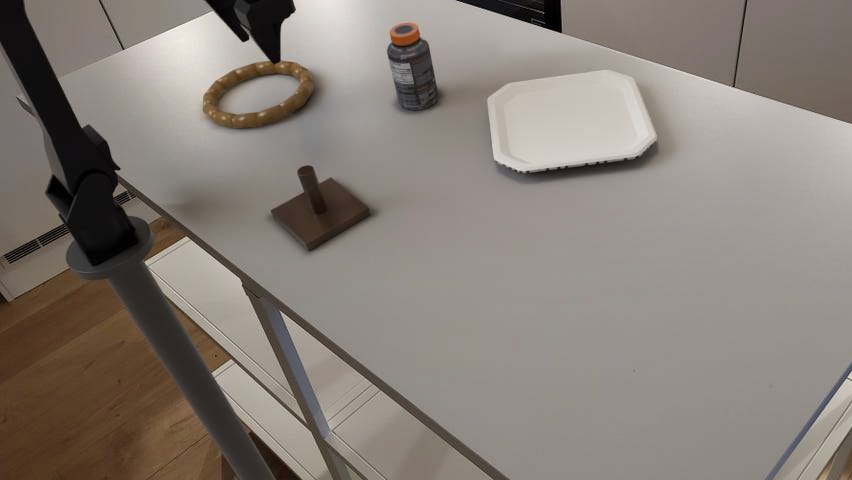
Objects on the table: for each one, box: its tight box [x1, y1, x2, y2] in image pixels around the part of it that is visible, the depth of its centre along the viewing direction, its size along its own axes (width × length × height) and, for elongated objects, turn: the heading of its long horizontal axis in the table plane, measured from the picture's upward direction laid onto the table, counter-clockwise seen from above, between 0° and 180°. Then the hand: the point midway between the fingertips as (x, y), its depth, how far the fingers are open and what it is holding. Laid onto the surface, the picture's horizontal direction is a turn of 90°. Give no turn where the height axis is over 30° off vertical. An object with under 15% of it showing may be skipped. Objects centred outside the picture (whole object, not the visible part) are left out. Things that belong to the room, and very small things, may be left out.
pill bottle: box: [386, 22, 439, 111], centre depth 107 cm, size 6×6×11 cm
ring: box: [202, 59, 315, 129], centre depth 116 cm, size 17×17×2 cm
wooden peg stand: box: [270, 164, 371, 252], centre depth 92 cm, size 9×9×7 cm
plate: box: [486, 69, 658, 174], centre depth 100 cm, size 21×21×2 cm
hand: (260, 51), depth 101 cm, fingers open, 9 cm apart
